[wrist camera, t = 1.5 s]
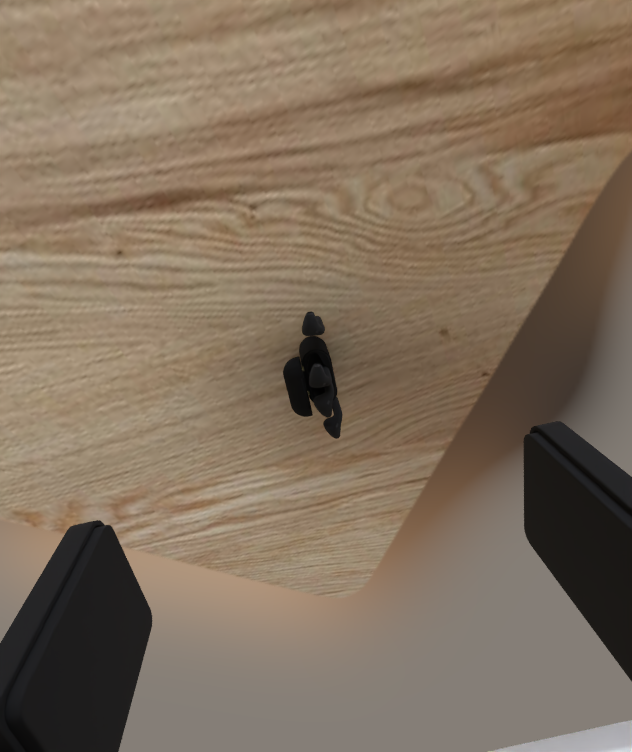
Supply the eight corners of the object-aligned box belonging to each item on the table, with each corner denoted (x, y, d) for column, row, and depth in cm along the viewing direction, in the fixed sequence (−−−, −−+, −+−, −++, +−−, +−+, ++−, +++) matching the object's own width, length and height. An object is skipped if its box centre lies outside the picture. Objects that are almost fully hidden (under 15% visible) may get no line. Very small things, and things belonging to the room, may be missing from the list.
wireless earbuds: (339, 408, 27) (352, 453, 23) (298, 418, 27) (304, 464, 23) (315, 296, 25) (325, 321, 20) (270, 306, 25) (270, 333, 20)
